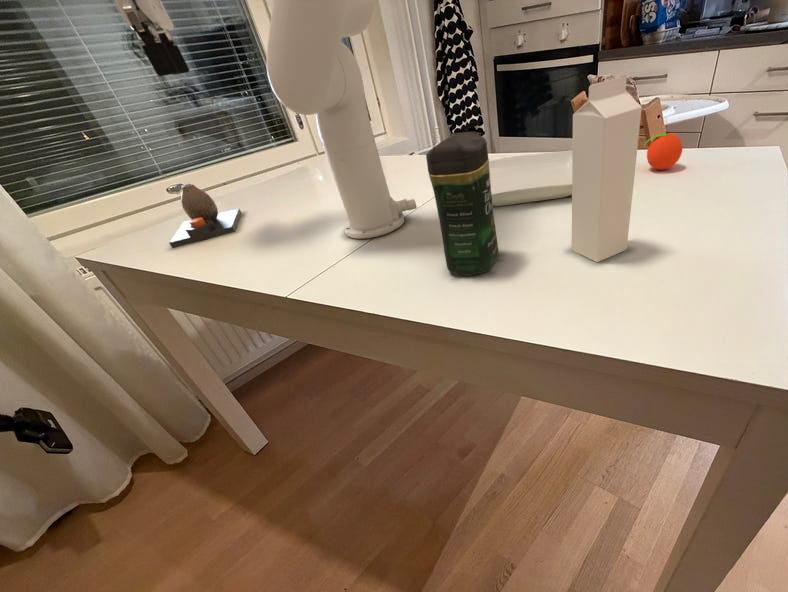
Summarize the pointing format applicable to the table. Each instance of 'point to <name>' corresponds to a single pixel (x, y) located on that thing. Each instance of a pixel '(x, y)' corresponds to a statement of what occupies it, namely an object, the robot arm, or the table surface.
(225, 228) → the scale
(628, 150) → the milk
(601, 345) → the table surface
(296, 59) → the robot arm
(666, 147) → the tomato
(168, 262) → the table surface
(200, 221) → the orange angular block
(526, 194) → the square plate
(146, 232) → the table surface
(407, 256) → the table surface
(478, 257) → the coffee jar
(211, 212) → the vase
